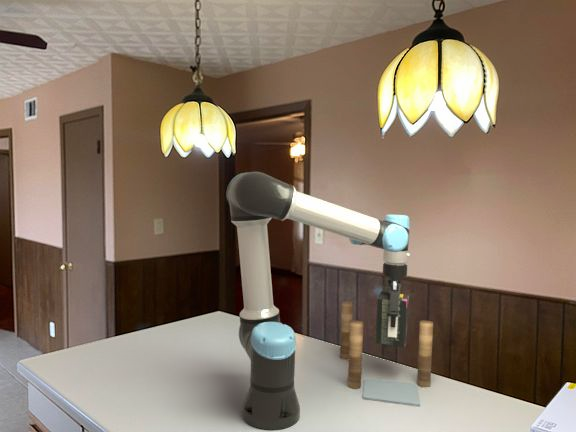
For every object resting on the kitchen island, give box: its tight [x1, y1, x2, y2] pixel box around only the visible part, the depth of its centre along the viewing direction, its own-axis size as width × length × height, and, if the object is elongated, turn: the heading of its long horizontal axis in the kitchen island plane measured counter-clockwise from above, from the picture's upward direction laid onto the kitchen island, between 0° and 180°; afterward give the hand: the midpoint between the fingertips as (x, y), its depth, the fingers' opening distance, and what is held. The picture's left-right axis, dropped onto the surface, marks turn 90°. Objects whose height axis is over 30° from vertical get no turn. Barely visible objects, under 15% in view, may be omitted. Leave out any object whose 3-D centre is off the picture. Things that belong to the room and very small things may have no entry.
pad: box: [362, 377, 421, 407], centre depth 133 cm, size 14×16×1 cm
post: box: [416, 319, 434, 388], centre depth 138 cm, size 4×4×20 cm
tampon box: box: [374, 291, 410, 348], centre depth 141 cm, size 11×9×15 cm
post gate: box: [339, 301, 354, 361], centre depth 159 cm, size 4×4×20 cm
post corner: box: [347, 320, 364, 390], centre depth 136 cm, size 4×4×20 cm
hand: (391, 331), depth 142 cm, fingers closed on tampon box, 11 cm apart
